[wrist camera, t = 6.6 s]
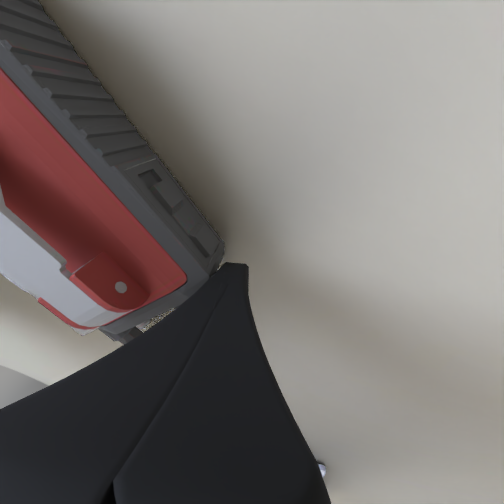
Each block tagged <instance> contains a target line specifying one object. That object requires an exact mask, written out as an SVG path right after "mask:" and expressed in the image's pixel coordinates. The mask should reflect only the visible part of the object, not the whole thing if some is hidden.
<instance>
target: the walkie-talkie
mask: <svg viewBox="0 0 504 504" xmlns="http://www.w3.org/2000/svg"><path fill="white" fill-rule="evenodd" d="M223 255H224V242H223V241H222V240H221V238H220V237H219V236H218V234H217V233H216V232H215V231H214V229H213V228H212V227H211V225H210V224H209V223H208V221H207V220H206V219H205V218H204V216H203V215H202V214H201V212H200V211H199V210H198V208H197V207H196V206H195V205H194V203H193V202H192V201H191V199H190V198H189V197H188V195H187V194H186V193H185V191H184V190H183V189H182V188H181V186H180V185H179V184H178V182H177V181H176V180H175V178H174V177H173V176H172V175H171V173H170V172H169V171H168V169H167V168H166V167H165V165H164V164H163V163H162V162H161V160H160V159H159V158H158V156H157V155H156V154H155V153H154V154H153V152H152V151H151V150H150V148H149V147H148V143H147V142H146V141H145V140H143V139H142V138H141V137H140V135H139V134H138V133H137V129H136V128H135V126H134V125H131V124H130V122H129V121H128V120H127V119H126V115H125V113H124V112H123V111H122V110H119V108H118V107H117V106H116V104H115V103H114V99H113V98H112V96H111V95H110V94H107V93H106V91H105V90H104V89H103V87H102V86H101V82H100V81H99V79H98V78H97V77H94V76H93V74H92V73H91V72H90V71H89V69H88V65H87V64H86V63H85V61H84V60H82V59H80V58H79V56H78V55H77V54H76V53H75V51H74V48H73V46H72V44H71V43H70V42H69V41H67V40H66V39H65V38H64V37H63V36H62V34H61V33H60V31H59V28H58V26H57V25H56V23H55V22H54V21H52V20H50V19H49V17H48V16H47V15H46V14H45V12H44V10H43V7H42V5H41V4H40V3H39V1H38V0H0V273H1V274H2V275H3V276H4V277H6V278H7V279H8V280H10V281H11V282H12V283H14V284H15V285H16V286H18V287H19V288H20V289H22V290H23V291H25V292H29V293H30V294H31V295H32V296H34V297H35V298H36V299H38V302H39V303H40V304H42V305H43V306H44V307H46V308H47V309H48V310H49V311H51V312H52V313H53V314H55V315H56V316H57V317H58V318H60V319H61V320H62V321H64V322H65V323H66V324H68V325H70V327H71V328H72V329H74V330H75V331H76V332H77V333H79V334H80V335H81V336H84V335H86V334H88V333H90V332H92V331H94V330H96V329H99V330H100V331H102V332H103V333H104V334H105V335H107V336H108V337H109V338H111V339H112V340H113V341H120V342H121V343H122V344H124V345H125V344H126V343H128V342H129V341H131V340H133V339H134V338H136V337H138V336H139V335H141V334H142V333H143V332H142V331H141V330H139V329H142V328H144V327H145V326H147V325H148V324H149V323H150V321H151V320H150V319H151V318H154V317H156V316H158V315H160V314H162V313H164V312H167V311H169V310H171V309H173V308H175V309H176V308H177V307H179V306H180V305H181V304H182V303H183V302H185V301H186V300H187V299H188V298H189V297H190V296H192V295H193V294H194V293H195V292H196V291H197V290H198V289H199V288H200V287H201V286H202V285H203V284H205V283H206V282H207V281H208V280H209V279H210V278H211V277H212V276H213V275H214V274H215V273H216V271H217V269H218V267H219V264H220V262H221V260H222V257H223ZM137 327H138V328H139V329H138V328H137Z"/></svg>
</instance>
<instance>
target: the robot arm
mask: <svg viewBox="0 0 504 504" xmlns="http://www.w3.org/2000/svg"><path fill="white" fill-rule="evenodd" d="M248 282H249V267H248V266H247V265H246V264H241V263H229V262H226V263H225V264H223V265H222V266H221V268H220V269H219V270H218V271H217V272H216V273H215V274H214V275H213V276H212V277H211V278H210V279H209V280H208V281H207V282H206V283H205V284H203V285H202V286H201V287H200V288H199V289H198V290H197V291H196V292H195V293H194V294H193V295H192V296H190V297H189V298H188V299H187V300H186V301H185V302H183V303H182V304H181V305H180V306H179V307H177V308H176V309H175V310H174V311H173V312H171V313H170V314H169V315H167V316H166V317H165V318H164V319H162V320H161V321H160V322H158V323H157V324H155V325H154V326H153V327H151V328H150V329H148V330H147V331H145V332H144V333H142V334H141V335H139V336H138V337H136V338H134V339H133V340H131V341H129V342H128V343H126V344H125V345H123V346H121V347H120V348H118V349H117V350H115V351H113V352H112V353H110V354H108V355H107V356H105V357H103V358H101V359H99V360H98V361H96V362H94V363H92V364H91V365H89V366H87V367H85V368H83V369H81V370H79V371H77V372H76V373H74V374H72V375H70V376H68V377H66V378H64V379H62V380H60V381H58V382H56V383H54V384H52V385H50V386H48V387H46V388H44V389H42V390H40V391H38V392H36V393H33V394H31V395H29V396H27V397H25V398H23V399H21V400H19V401H17V402H15V403H13V404H11V405H8V406H6V407H4V408H2V409H0V504H331V501H330V498H329V495H328V492H327V489H326V486H325V483H324V480H323V477H324V475H325V473H326V467H325V466H324V465H322V464H318V463H317V461H316V459H315V457H314V455H313V454H312V452H311V450H310V448H309V446H308V444H307V443H306V441H305V439H304V437H303V435H302V433H301V431H300V429H299V427H298V425H297V423H296V421H295V419H294V417H293V415H292V413H291V411H290V409H289V407H288V405H287V403H286V401H285V399H284V397H283V395H282V393H281V390H280V388H279V386H278V383H277V381H276V379H275V377H274V374H273V372H272V370H271V367H270V365H269V363H268V360H267V358H266V355H265V352H264V350H263V347H262V344H261V341H260V338H259V335H258V332H257V329H256V326H255V322H254V318H253V315H252V311H251V306H250V301H249V295H248Z"/></svg>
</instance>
